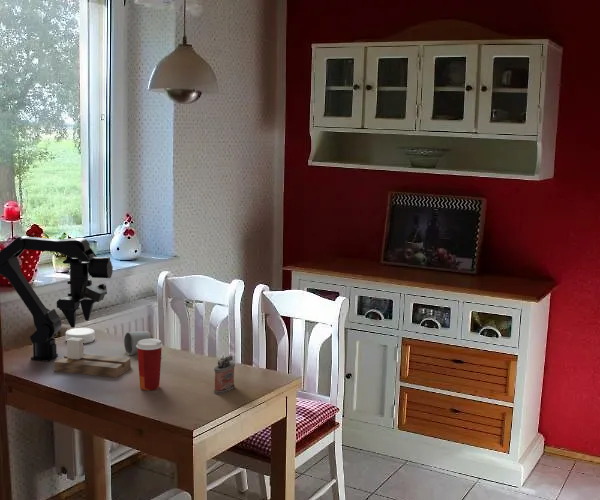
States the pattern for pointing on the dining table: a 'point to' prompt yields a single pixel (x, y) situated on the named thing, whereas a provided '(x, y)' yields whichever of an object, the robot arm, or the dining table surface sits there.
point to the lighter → (224, 375)
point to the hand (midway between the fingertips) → (80, 323)
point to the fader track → (94, 365)
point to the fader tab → (75, 348)
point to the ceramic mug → (135, 340)
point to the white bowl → (81, 334)
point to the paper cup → (149, 363)
